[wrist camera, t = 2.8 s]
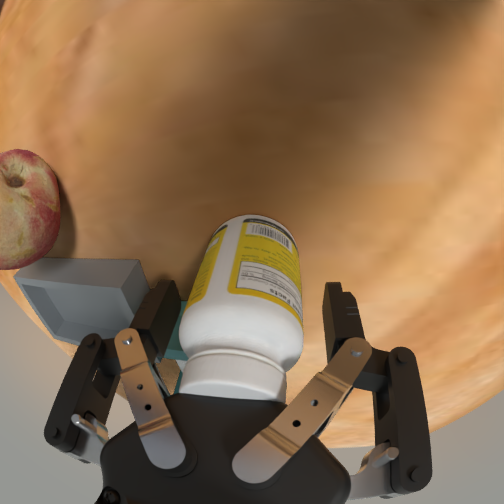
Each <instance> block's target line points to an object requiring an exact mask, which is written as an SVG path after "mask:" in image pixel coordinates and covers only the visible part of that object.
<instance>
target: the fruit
mask: <svg viewBox="0 0 504 504" xmlns="http://www.w3.org/2000/svg"><path fill="white" fill-rule="evenodd" d="M59 228H60V200H59V189H58V184H57V181H56V177H55V175H54V173H53V171H52V169H51V168H50V167H49V165H48V164H47V163H46V162H45V161H44V160H43V159H42V158H41V157H39V156H38V155H36V154H34V153H33V152H30V151H28V150H21V149H14V150H10V151H6V152H2V153H0V270H11V269H19V268H23V267H26V266H28V265H30V264H32V263H34V262H35V261H37V260H39V259H40V258H42V257H43V256H44V255H45V254H47V253H48V251H49V250H50V249H51V248H52V247H53V245H54V243H55V241H56V239H57V236H58V232H59Z"/></svg>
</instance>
